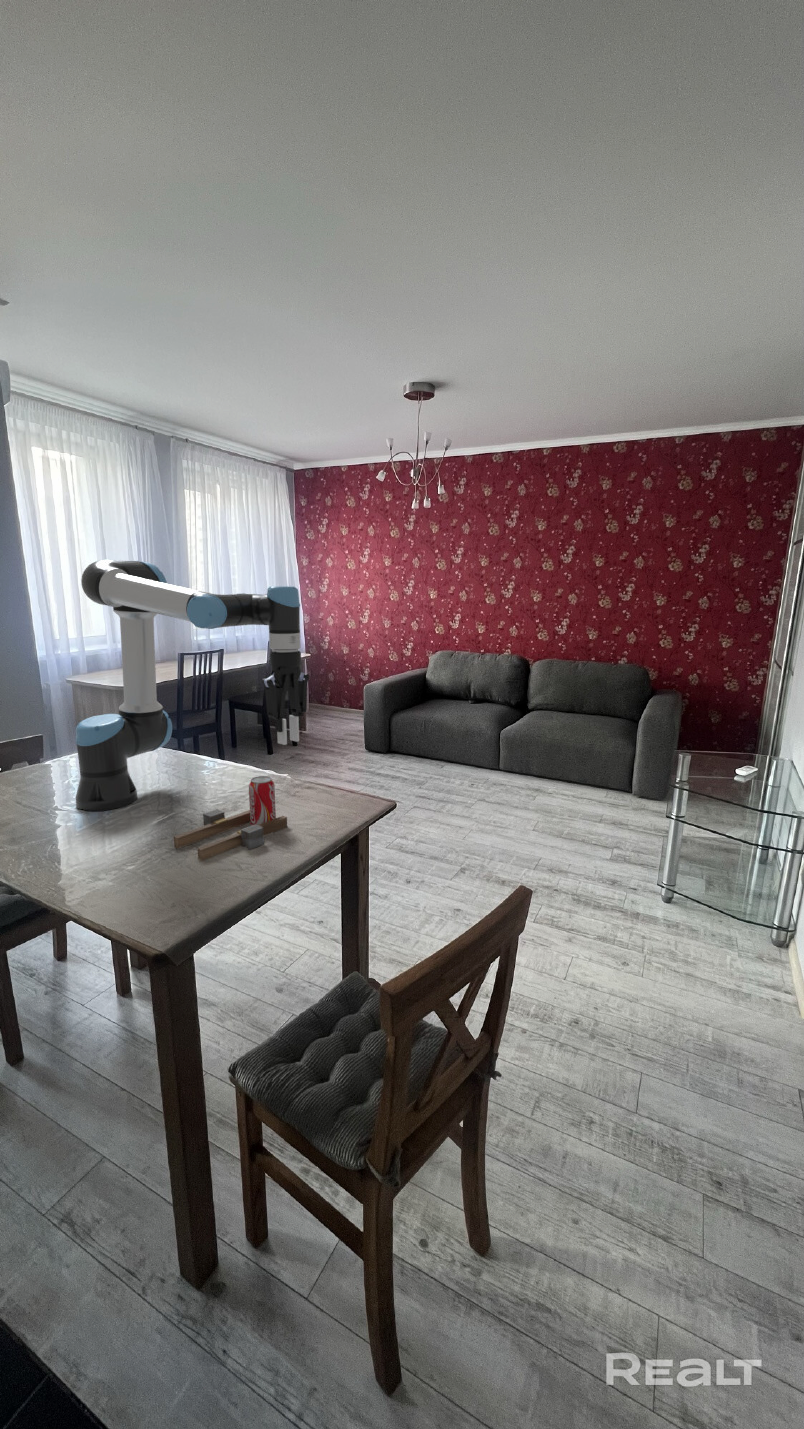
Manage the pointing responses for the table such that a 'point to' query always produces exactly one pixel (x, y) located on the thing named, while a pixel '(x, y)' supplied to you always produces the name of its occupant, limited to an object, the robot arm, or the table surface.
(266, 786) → the beverage can
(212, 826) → the wooden bars with blocks
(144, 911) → the table surface
